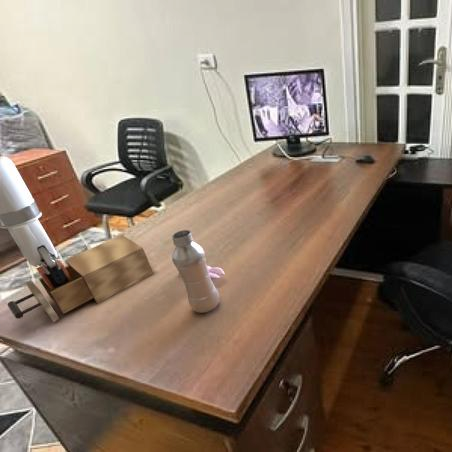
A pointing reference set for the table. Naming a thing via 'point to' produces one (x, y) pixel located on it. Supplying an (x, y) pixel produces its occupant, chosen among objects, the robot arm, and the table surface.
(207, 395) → the table surface
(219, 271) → the rabbit figure
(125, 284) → the cabinet
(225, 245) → the table surface
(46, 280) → the block
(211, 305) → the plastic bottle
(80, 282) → the drawer
